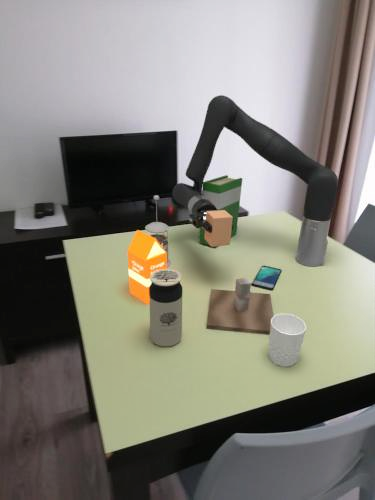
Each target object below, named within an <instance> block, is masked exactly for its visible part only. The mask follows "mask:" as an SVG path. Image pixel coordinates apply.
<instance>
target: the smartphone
mask: <svg viewBox="0 0 375 500" xmlns="http://www.w3.org/2000/svg"><path fill="white" fill-rule="evenodd" d="M282 272H283V270H282V269H281V268H277V267H273V266H269V265H268V266H267V265H261V267H260V268H259V270H258V272H257V274H256V276H255V277H254V278H253V281H252V282H251V286H252V287H254V288H258V289H262V290H265V291H266V290H267V291H270V292H272V291H274V289H275V287H276V285H277V282H278V281H279V279H280V276H281V274H282Z"/></svg>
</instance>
